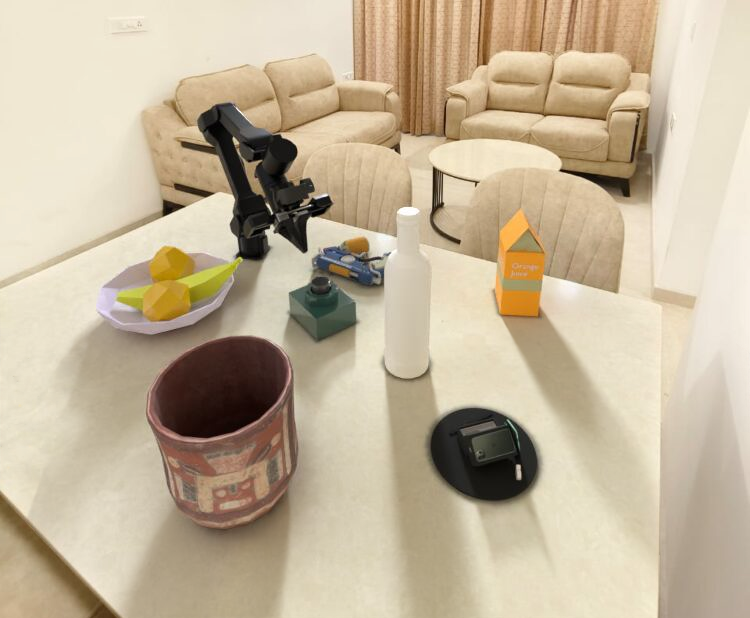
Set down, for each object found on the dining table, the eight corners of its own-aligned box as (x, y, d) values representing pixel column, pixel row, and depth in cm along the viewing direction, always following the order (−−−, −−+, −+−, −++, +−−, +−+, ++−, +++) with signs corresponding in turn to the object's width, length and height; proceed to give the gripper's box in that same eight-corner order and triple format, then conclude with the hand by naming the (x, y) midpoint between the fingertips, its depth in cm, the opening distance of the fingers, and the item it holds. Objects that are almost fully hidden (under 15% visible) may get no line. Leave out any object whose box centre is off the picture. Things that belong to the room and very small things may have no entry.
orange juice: (530, 291, 109) (540, 208, 102) (538, 316, 101) (550, 228, 94) (493, 289, 110) (501, 207, 103) (499, 314, 102) (507, 227, 94)
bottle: (426, 382, 85) (431, 224, 74) (380, 376, 86) (379, 220, 75) (430, 351, 92) (436, 202, 81) (388, 345, 93) (388, 199, 82)
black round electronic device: (457, 514, 64) (459, 484, 62) (415, 422, 77) (416, 395, 75) (558, 482, 68) (564, 453, 66) (502, 400, 81) (505, 373, 79)
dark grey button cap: (308, 289, 99) (308, 280, 99) (324, 283, 101) (323, 274, 101) (318, 297, 97) (317, 288, 96) (333, 291, 99) (333, 281, 98)
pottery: (147, 483, 68) (121, 381, 62) (258, 410, 80) (246, 317, 73) (210, 587, 56) (185, 474, 50) (330, 484, 68) (323, 380, 61)
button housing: (290, 312, 103) (287, 284, 101) (327, 297, 108) (325, 269, 106) (317, 341, 95) (315, 310, 92) (356, 322, 100) (355, 293, 97)
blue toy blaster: (341, 241, 131) (306, 268, 119) (341, 227, 129) (305, 253, 117) (412, 263, 121) (381, 295, 109) (413, 248, 120) (381, 279, 108)
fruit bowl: (70, 340, 96) (56, 290, 92) (159, 267, 120) (150, 225, 116) (200, 363, 90) (191, 310, 85) (266, 281, 114) (261, 237, 110)
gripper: (241, 178, 93) (273, 253, 89) (326, 157, 104) (358, 223, 100) (230, 203, 102) (259, 272, 98) (309, 182, 113) (338, 243, 108)
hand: (305, 252), depth 101 cm, fingers closed
